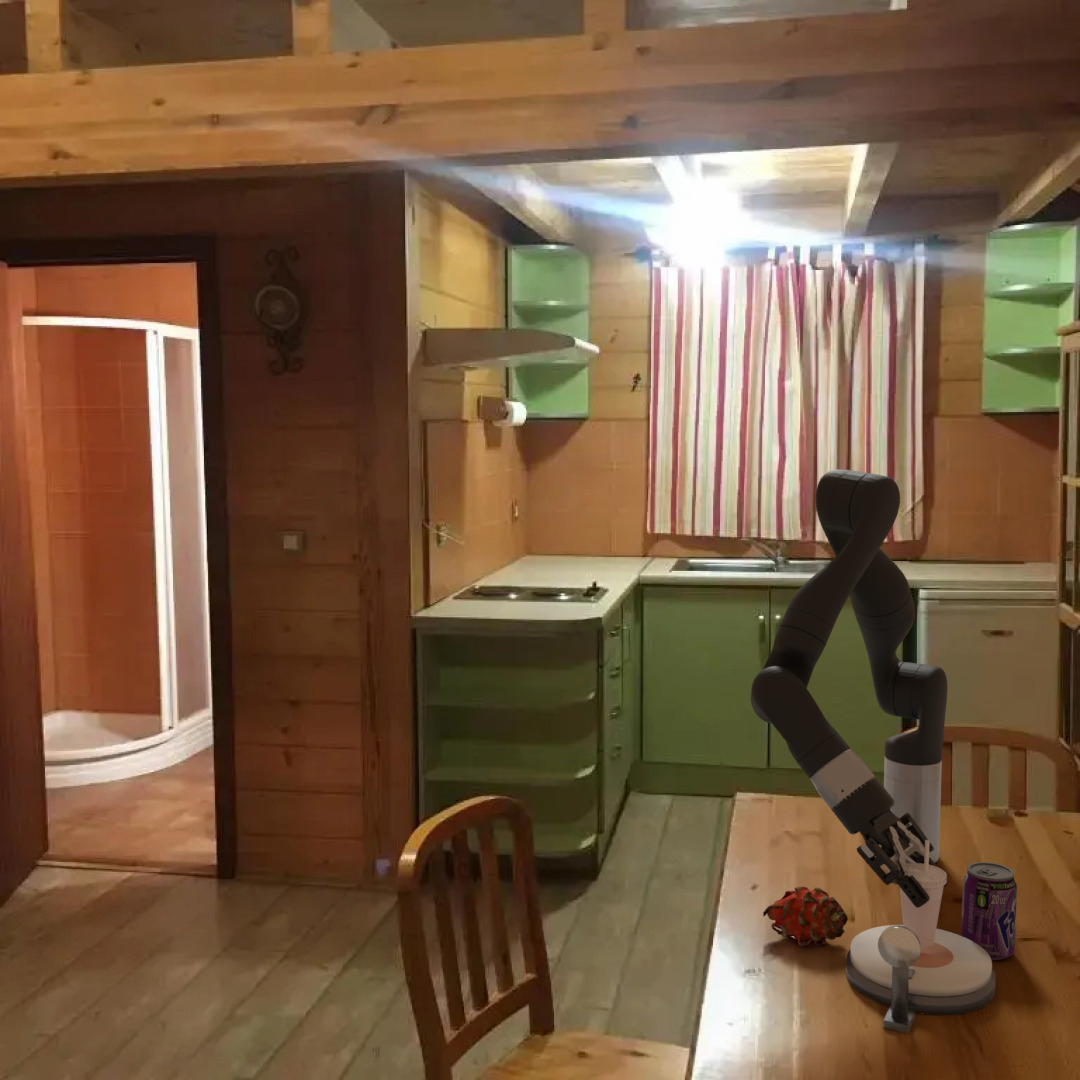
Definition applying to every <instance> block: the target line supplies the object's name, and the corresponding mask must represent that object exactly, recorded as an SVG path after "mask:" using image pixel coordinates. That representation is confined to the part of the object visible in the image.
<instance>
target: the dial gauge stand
mask: <svg viewBox="0 0 1080 1080" xmlns="http://www.w3.org/2000/svg"><path fill="white" fill-rule="evenodd" d="M893 925H894V926H890V927H888V928H886V929H885V930H884V931H883V932H882V934H881V935H880V937H879V940H878V950H879V953H880V955H881V957H882V958H883V959H884V960H885V961H886V962H887V963H888V964H890V965H891V966H892V997H891V1006H890V1007H889V1008H888V1009H887V1012H886V1014H885V1016H884V1018H883V1025H882V1026H883V1029H887V1030H892V1031H895V1032H901V1033H905V1034H909V1033H910V1031H911V1028H912V1026H913V1024H914V1021H915V1017H916V1013H915V1011H911V1010H908V991H909V967H911V966H912V965H914V964H915V963H916V962H917V960H918V958H919V956H920V953H921V944H920V941H919V939H918V937H917V936H916V934H915V933H914V932H913V931H911V930H910V929H908V928H906V927H904V926H900V925H901V924H893Z"/></svg>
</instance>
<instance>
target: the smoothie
mask: <svg viewBox="0 0 1080 1080" xmlns="http://www.w3.org/2000/svg"><path fill="white" fill-rule="evenodd" d="M906 865H907V867H908V869H909V871H910V874H911V875H913V876H914V877H915V879H916V880H917V881H918V883H919V884H920V885H921V886H922V888H923V889H924V890H925V892H926V893H927V894H928V895H929V897H930V900H929V901H928V902H927V903H925V904H924V905H922V906H921V907H919V908H917V907H915V906H914V904H913V903H912V902H911V901H910V899H909V898H908V897H907V895H906V894H905V893H904V892H903V890H902V889H901V888H900V887H899V891H900V903H901V904H900V905H901V913H902V923H903V924H902V925H903V926H904V927H906V928H908V929H910V930H911V931H913V932H914V933H915V934H916V936H917V937H918V939H919V941H920V944H921V948H926V947H931V946H932V945H933V944H934V939H935V933H936V929H937V926H938V921H939V915H940V914H939V913H940V910H941V903H942V897H943V892H944V888H945V887H944V885H945V884H946V883H947V880H948V877H947V873H946V871H945V870H943V869H942V868H940V867H938V866H937V865H936V866H937V867H936V866H933V865H929V840H925V857H924V864H922V863H909V864H906ZM897 867H898V868H899V866H897ZM899 869H900V868H899ZM911 875H910V876H911ZM910 876H909V877H910ZM946 879H947V880H946Z"/></svg>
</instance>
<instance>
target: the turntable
mask: <svg viewBox="0 0 1080 1080" xmlns="http://www.w3.org/2000/svg"><path fill="white" fill-rule="evenodd" d="M894 925H895V924H888V925H881V926H875V927H872V928H869V929H868V928H867V929H866V930H864V931H861V932H860V933H858V934H857V935H855V936H854V937H853V939H852V940H851V942H850V949H851V951H850V959H851V962H852V964H853V966H854V967H855V969H856V970H857V971H858V972H859V973H860V974H862V975H863V976H865V977H866V978H868V979H869V980H871V981H873V982H875V983H877V984H879V985H882V986H885V987H887V988H890V989H892V966H891V965H890V964H888V963H887V962H886V961H885V960H884V959H883V958H882V957H881V955H880V953H879V950H878V940H879V937H880V935H881V934H882V932H883V931H884V930H885V929H886V928H888V927H890V926H894ZM899 925H900V926H903V924H899ZM992 968H993V960H991V958H990V956H989V954H988V953H987V952H986V951H985V950H984V949H983V948H982V947H981V946H979V945H978V944H976V943H974V942H973V941H971V940H969V939H967V938H965V937H962V936H961V934H960V935H959V934H957V933H954V932H951V931H948V930H944V929H940V928H936V933H935V939H934V944H933V945H932V946H931V947H926V948H921V953H920V956H919V958H918V960H917V962H916V963H915V964H914V965H912V966H911V967H909V991H908V993H910V994H915V995H923V996H942V997H945V996H957V995H964V994H968V993H972V992H975V991H977V990H979V989H981V988H983V987H984V986H986V985H987V984H988V983H989V981H990V979H991V975H992Z"/></svg>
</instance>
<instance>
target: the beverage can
mask: <svg viewBox="0 0 1080 1080" xmlns="http://www.w3.org/2000/svg"><path fill="white" fill-rule="evenodd" d="M965 873H966V874H965V875H964V876H963V879H962V899H961V901H962V902H961V904H962V905H961V924H960V925H961V928H960V931H961V932H960V936H962V937H965V938H967V939H969V940H971V941H973V942H974V943H976V944H978V945H979V946H981V947H982V948H983V949H984V950H985V951H986V952H987V953H988V954H989V956H990V958H991V961H999V960H1003V959H1005V958H1009V957H1012V956H1013V955H1014V954H1015V946H1016V923H1017V903H1018V902H1017V895H1018V885H1017V882H1016V880H1015V872H1014V870H1013V869H1012V868H1010V867H1008V866H1006V865H1003V864H1000V863H995V862H989V861H979V862H972V863H970V864H968V865H967V867H966V872H965Z"/></svg>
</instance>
